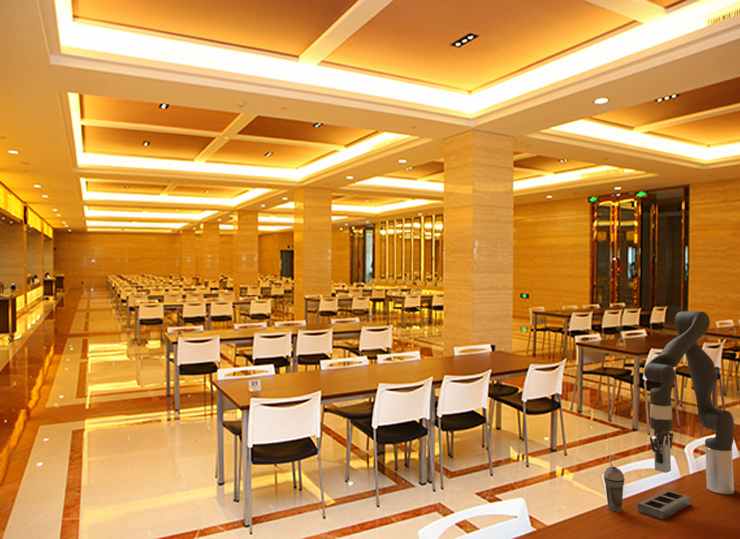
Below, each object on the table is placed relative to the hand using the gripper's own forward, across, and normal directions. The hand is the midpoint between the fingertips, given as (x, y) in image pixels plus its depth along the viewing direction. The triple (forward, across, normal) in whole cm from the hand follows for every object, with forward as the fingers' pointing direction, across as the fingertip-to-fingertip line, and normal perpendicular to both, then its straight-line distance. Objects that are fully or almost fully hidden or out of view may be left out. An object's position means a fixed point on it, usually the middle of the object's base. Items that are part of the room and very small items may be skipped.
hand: (662, 461), depth 193 cm
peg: (+3, 0, 0) cm, 3 cm away
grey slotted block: (+17, 0, 0) cm, 17 cm away
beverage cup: (+18, +16, -10) cm, 26 cm away
